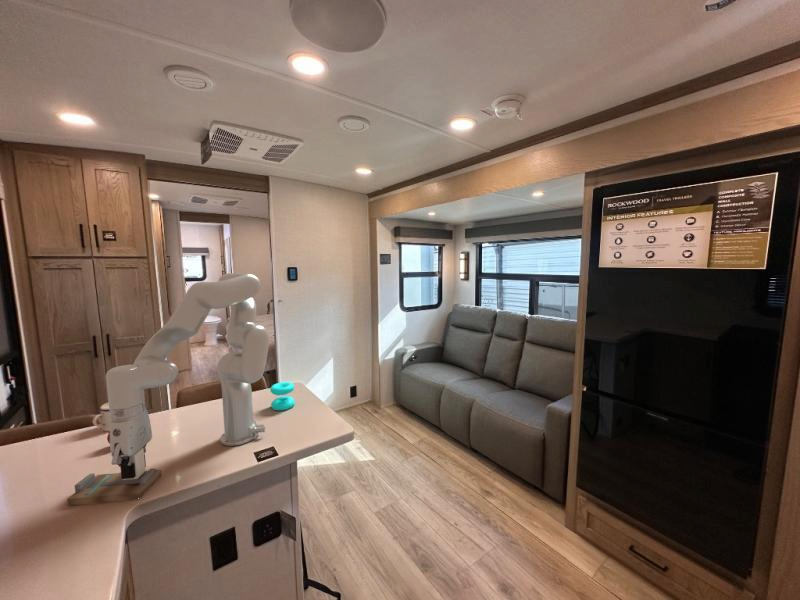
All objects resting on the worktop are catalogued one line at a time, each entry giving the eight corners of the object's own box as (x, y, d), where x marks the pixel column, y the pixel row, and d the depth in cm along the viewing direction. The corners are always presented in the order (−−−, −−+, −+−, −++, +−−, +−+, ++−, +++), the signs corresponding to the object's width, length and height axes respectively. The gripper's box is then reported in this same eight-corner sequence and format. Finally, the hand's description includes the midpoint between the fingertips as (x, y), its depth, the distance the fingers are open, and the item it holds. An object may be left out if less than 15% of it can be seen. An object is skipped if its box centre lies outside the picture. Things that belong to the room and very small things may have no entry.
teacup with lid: (123, 419, 133) (120, 392, 132) (137, 422, 130) (135, 394, 129) (87, 433, 122) (83, 403, 121) (102, 437, 119) (99, 407, 118)
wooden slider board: (161, 475, 96) (160, 463, 96) (139, 499, 87) (137, 485, 86) (98, 481, 94) (96, 468, 94) (68, 506, 84) (66, 491, 84)
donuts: (293, 387, 140) (268, 390, 137) (294, 410, 141) (269, 412, 138) (294, 380, 149) (271, 382, 147) (295, 401, 150) (273, 403, 148)
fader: (146, 475, 93) (144, 447, 92) (138, 484, 89) (135, 454, 88) (131, 477, 92) (128, 448, 91) (122, 485, 89) (119, 456, 88)
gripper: (121, 423, 81) (128, 491, 83) (160, 397, 97) (165, 455, 99) (88, 426, 80) (95, 494, 82) (133, 399, 96) (139, 457, 98)
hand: (134, 472), depth 91 cm, fingers closed on fader, 3 cm apart
